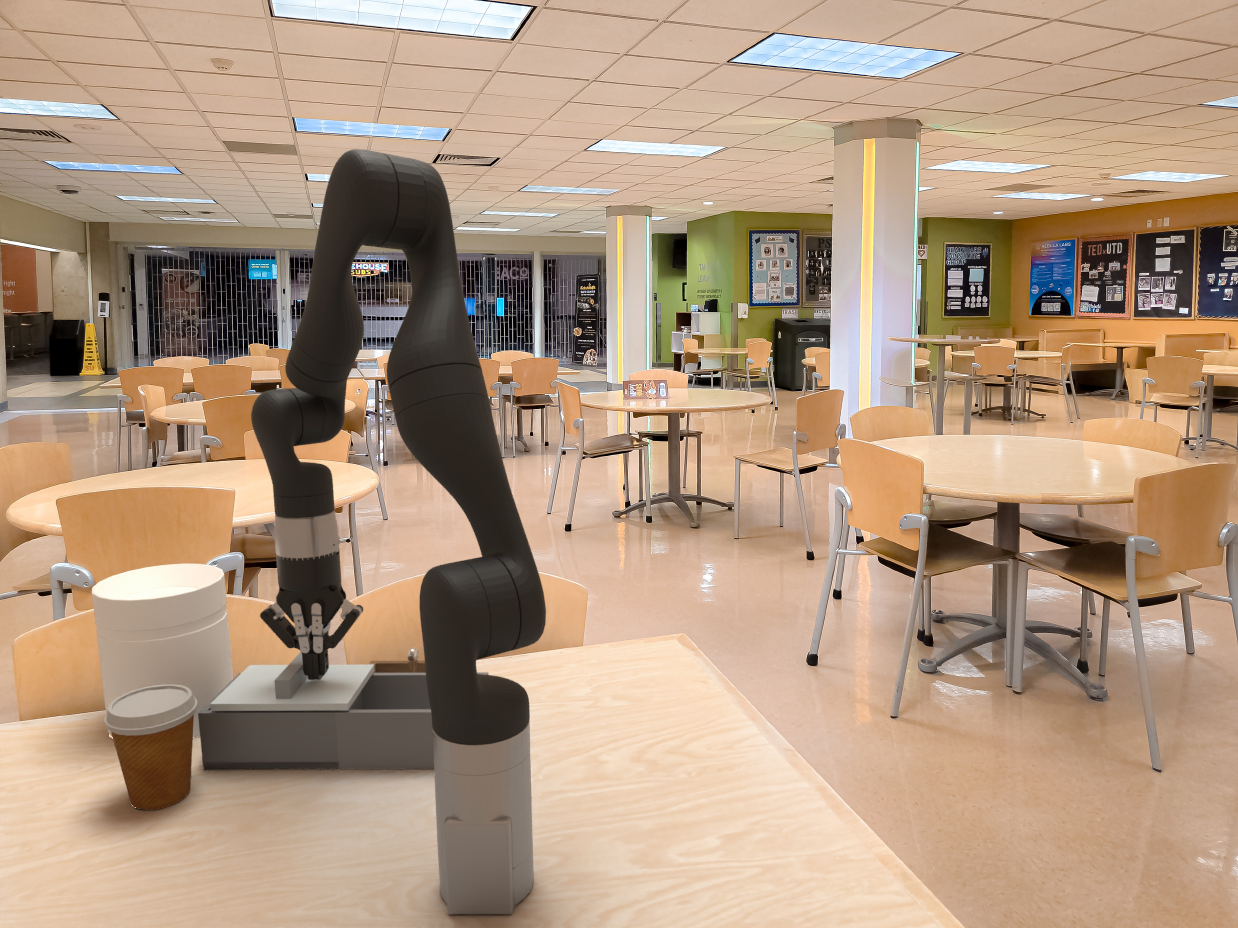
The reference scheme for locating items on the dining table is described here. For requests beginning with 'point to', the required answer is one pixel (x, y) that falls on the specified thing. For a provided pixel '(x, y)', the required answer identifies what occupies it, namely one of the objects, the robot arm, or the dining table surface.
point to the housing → (328, 732)
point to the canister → (164, 631)
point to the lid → (293, 688)
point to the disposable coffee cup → (154, 743)
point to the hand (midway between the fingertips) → (317, 677)
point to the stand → (413, 660)
